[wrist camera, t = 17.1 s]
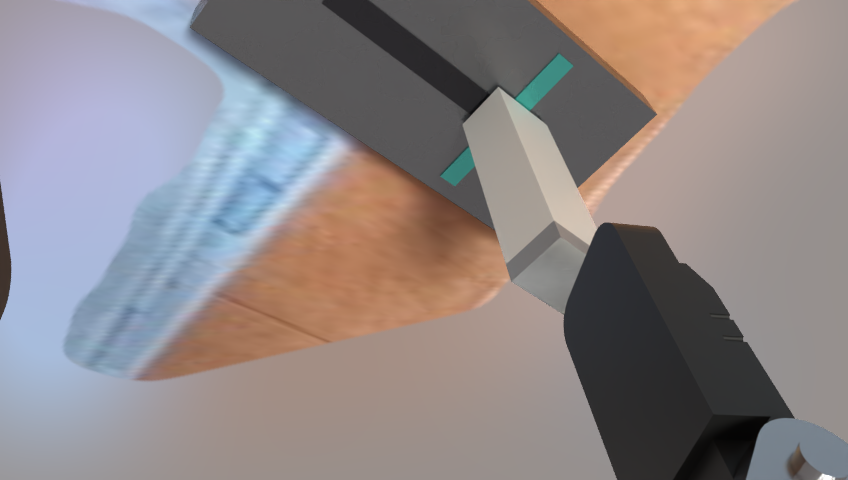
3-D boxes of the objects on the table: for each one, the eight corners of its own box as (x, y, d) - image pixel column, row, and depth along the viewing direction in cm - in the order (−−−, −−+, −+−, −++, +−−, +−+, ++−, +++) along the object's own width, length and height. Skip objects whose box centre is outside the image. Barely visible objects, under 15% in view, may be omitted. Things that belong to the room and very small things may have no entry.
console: (195, 9, 43) (189, 28, 41) (329, -183, 38) (330, -173, 36) (508, 222, 54) (516, 245, 52) (643, 95, 49) (657, 115, 47)
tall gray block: (462, 124, 46) (511, 281, 35) (498, 86, 44) (561, 236, 33) (511, 160, 47) (572, 320, 36) (546, 124, 46) (621, 279, 35)
